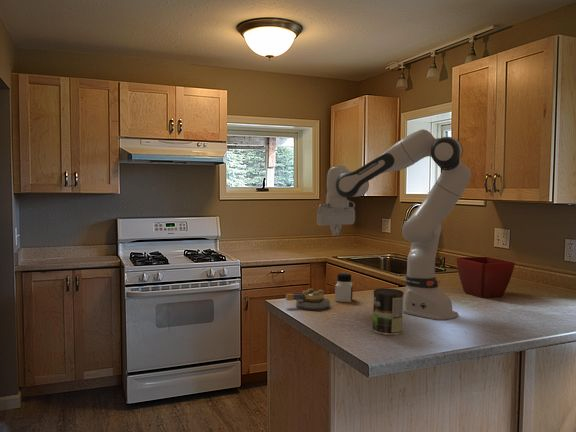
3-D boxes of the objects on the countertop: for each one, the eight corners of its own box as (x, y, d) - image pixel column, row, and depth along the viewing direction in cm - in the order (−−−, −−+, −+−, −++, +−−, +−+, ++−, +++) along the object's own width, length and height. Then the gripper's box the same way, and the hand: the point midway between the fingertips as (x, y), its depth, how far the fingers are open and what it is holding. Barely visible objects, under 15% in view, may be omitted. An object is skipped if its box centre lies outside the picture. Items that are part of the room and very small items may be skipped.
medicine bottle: (351, 302, 217) (351, 275, 216) (334, 301, 218) (335, 274, 217) (352, 299, 224) (353, 272, 223) (336, 298, 225) (337, 271, 224)
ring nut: (319, 296, 214) (319, 288, 214) (327, 301, 205) (327, 292, 205) (283, 298, 209) (283, 289, 209) (289, 303, 200) (289, 294, 200)
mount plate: (336, 307, 207) (336, 300, 207) (311, 312, 198) (311, 305, 198) (314, 300, 218) (314, 294, 218) (289, 305, 209) (289, 298, 209)
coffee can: (376, 335, 169) (377, 294, 168) (369, 327, 179) (370, 288, 178) (406, 335, 169) (407, 294, 169) (397, 326, 180) (398, 288, 179)
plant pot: (514, 297, 233) (516, 261, 232) (482, 300, 226) (484, 263, 225) (484, 289, 251) (485, 256, 250) (454, 291, 244) (455, 257, 243)
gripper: (323, 204, 207) (322, 237, 208) (357, 203, 220) (356, 234, 221) (313, 203, 212) (312, 235, 213) (347, 203, 225) (346, 233, 226)
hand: (335, 235), depth 217 cm, fingers closed
